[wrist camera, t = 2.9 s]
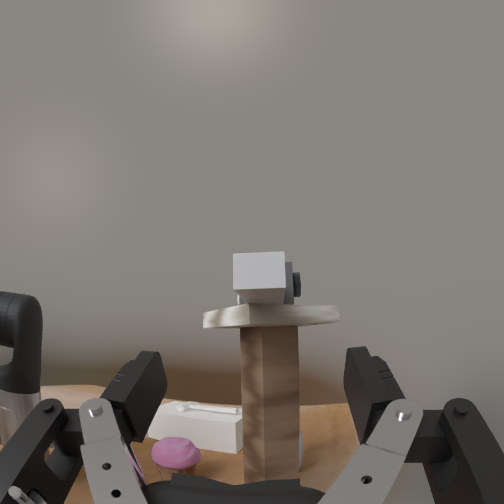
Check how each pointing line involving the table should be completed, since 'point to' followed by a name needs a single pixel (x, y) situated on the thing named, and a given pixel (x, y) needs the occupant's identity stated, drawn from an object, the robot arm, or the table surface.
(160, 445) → the cupcake
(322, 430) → the table surface
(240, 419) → the tissue box
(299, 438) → the donut
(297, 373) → the stand
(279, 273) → the grey block with knob
